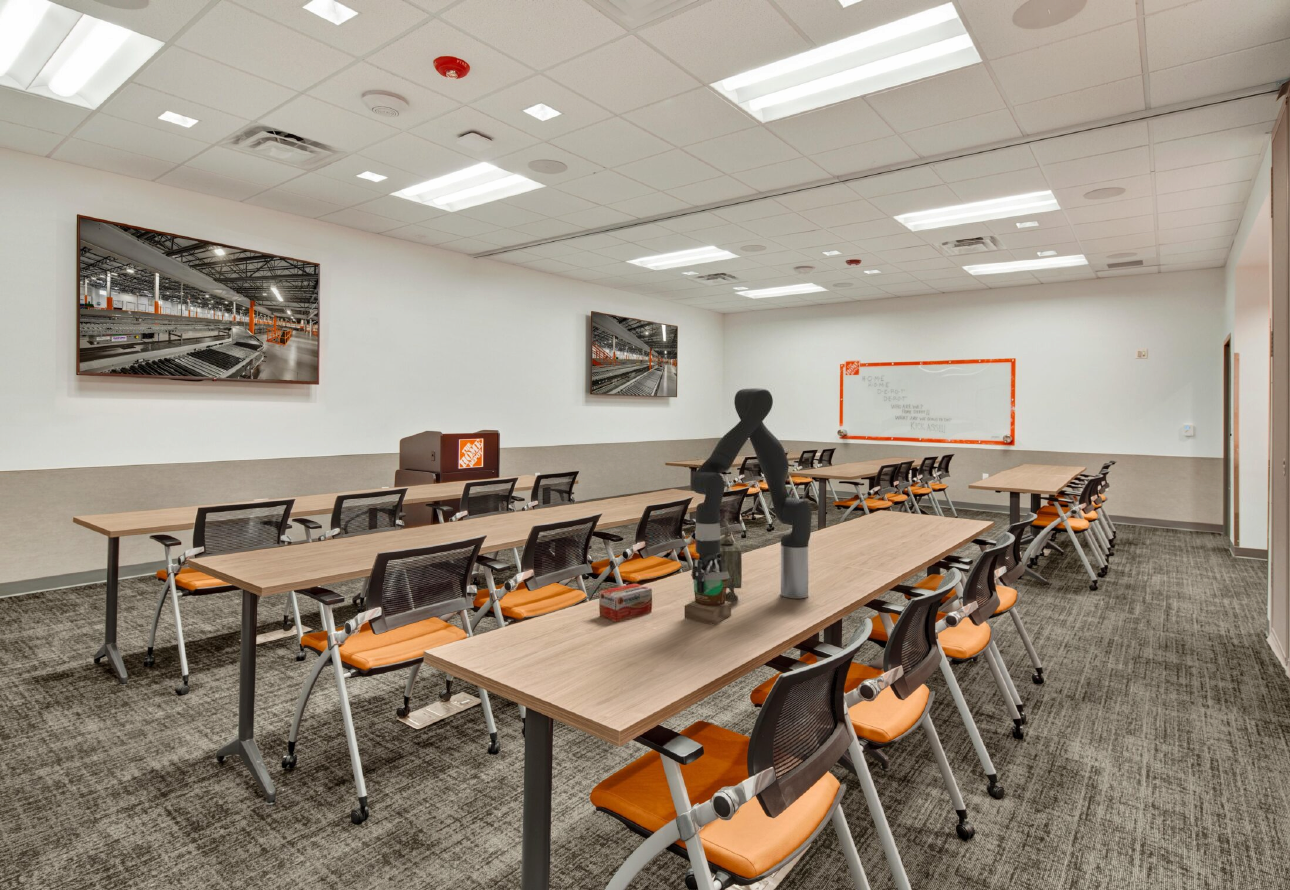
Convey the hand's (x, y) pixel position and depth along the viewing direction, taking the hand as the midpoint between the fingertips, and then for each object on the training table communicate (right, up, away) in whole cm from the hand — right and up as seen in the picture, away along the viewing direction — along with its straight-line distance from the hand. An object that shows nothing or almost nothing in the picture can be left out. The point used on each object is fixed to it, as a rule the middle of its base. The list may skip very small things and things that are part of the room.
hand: (707, 590), depth 198 cm
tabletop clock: (+8, -8, +24) cm, 26 cm away
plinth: (0, -8, 0) cm, 8 cm away
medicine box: (-25, -9, +4) cm, 27 cm away
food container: (0, -4, -1) cm, 4 cm away
